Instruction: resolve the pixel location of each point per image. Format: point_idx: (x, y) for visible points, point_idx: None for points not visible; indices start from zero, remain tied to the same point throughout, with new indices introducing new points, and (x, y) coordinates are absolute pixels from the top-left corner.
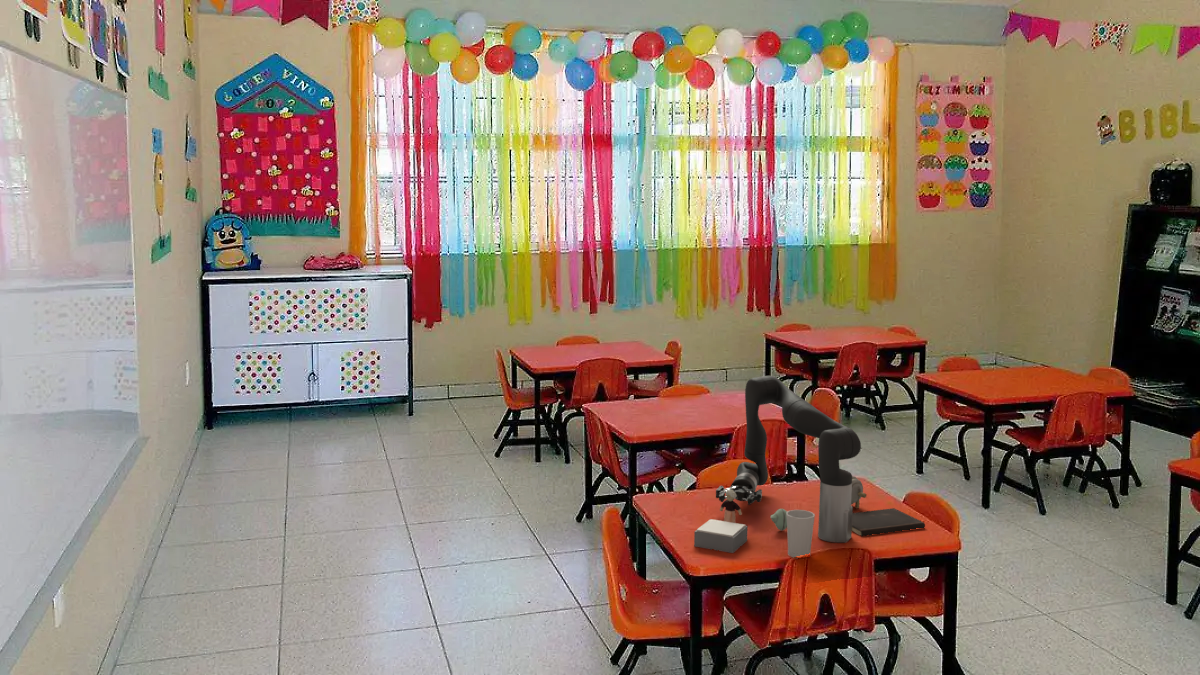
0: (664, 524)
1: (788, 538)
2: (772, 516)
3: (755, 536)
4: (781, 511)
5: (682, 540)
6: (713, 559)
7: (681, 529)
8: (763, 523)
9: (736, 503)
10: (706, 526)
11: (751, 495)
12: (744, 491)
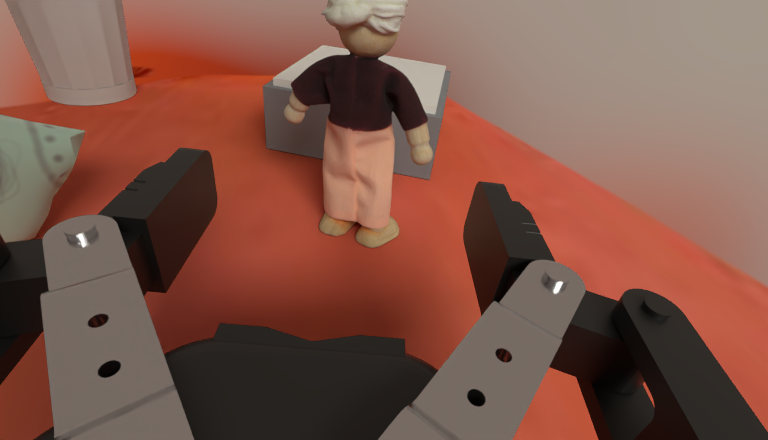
0: (673, 244)
1: (125, 28)
2: (68, 130)
3: (219, 178)
4: None
5: (495, 143)
6: None
7: (562, 208)
8: None
9: (321, 59)
10: (424, 75)
11: (124, 205)
12: (190, 354)
